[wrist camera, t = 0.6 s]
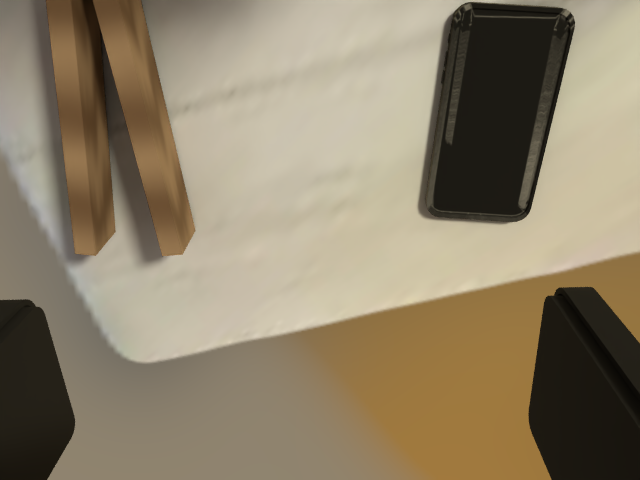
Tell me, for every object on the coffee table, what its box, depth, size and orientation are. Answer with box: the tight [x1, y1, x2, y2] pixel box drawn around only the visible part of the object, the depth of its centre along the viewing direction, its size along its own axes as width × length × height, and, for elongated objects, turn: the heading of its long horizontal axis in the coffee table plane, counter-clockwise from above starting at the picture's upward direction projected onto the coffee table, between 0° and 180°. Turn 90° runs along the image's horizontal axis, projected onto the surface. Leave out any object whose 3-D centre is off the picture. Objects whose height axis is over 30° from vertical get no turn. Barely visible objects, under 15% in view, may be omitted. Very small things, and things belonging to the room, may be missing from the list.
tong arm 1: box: [46, 0, 115, 256], centre depth 38 cm, size 20×2×4 cm, turn 175°
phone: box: [426, 2, 575, 222], centre depth 40 cm, size 8×1×15 cm
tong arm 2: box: [93, 0, 195, 256], centre depth 38 cm, size 20×2×4 cm, turn 7°
